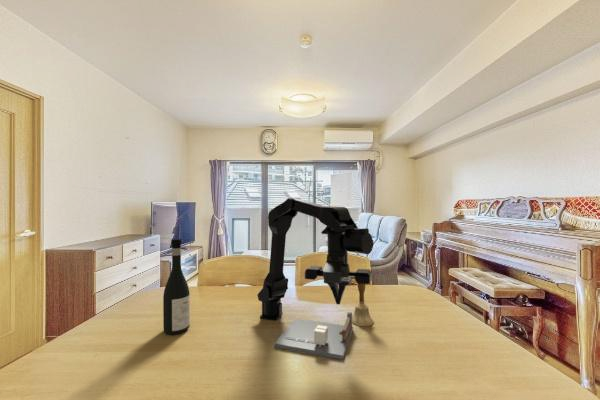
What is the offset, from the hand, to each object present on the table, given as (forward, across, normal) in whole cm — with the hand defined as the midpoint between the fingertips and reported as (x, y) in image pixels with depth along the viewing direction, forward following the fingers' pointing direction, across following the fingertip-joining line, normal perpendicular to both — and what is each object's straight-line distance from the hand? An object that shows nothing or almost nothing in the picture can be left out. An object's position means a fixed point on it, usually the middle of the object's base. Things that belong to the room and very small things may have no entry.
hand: (338, 304), depth 82 cm
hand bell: (+13, +4, +20) cm, 24 cm away
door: (+11, +1, +6) cm, 13 cm away
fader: (+11, -5, -2) cm, 12 cm away
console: (+12, -8, +3) cm, 15 cm away
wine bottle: (+12, -53, -7) cm, 54 cm away
